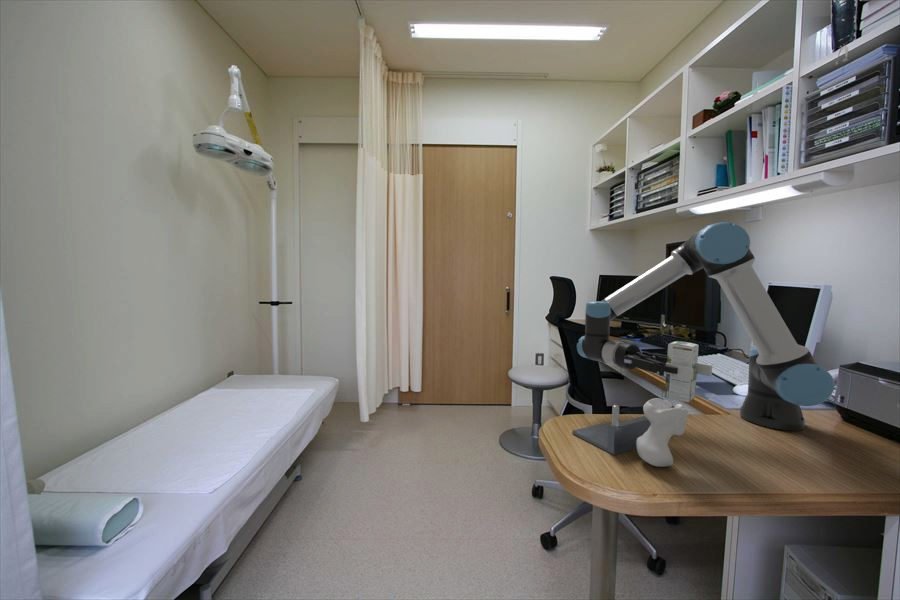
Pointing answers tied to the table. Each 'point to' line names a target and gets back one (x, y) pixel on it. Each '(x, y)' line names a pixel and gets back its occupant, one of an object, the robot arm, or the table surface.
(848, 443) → the table surface
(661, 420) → the white sculpture
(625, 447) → the grey piece
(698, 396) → the table surface
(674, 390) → the syrup box
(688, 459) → the table surface
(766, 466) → the table surface
